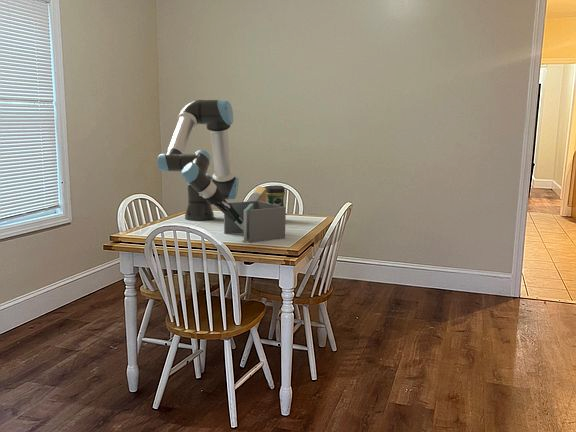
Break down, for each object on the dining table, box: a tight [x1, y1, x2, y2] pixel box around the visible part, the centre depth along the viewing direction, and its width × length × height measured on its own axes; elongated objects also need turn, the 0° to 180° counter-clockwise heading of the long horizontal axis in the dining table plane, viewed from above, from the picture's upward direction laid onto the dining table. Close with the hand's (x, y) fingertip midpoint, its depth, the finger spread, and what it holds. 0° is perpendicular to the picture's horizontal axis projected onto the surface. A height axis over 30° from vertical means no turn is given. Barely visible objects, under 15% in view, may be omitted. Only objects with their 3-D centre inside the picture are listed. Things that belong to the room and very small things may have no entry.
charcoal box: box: [223, 200, 287, 244], centre depth 248 cm, size 18×24×14 cm
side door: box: [243, 204, 254, 243], centre depth 244 cm, size 1×21×14 cm, turn 176°
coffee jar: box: [265, 184, 286, 207], centre depth 287 cm, size 10×8×19 cm
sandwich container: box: [245, 186, 267, 203], centre depth 308 cm, size 9×15×15 cm, turn 128°
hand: (244, 227), depth 247 cm, fingers closed
